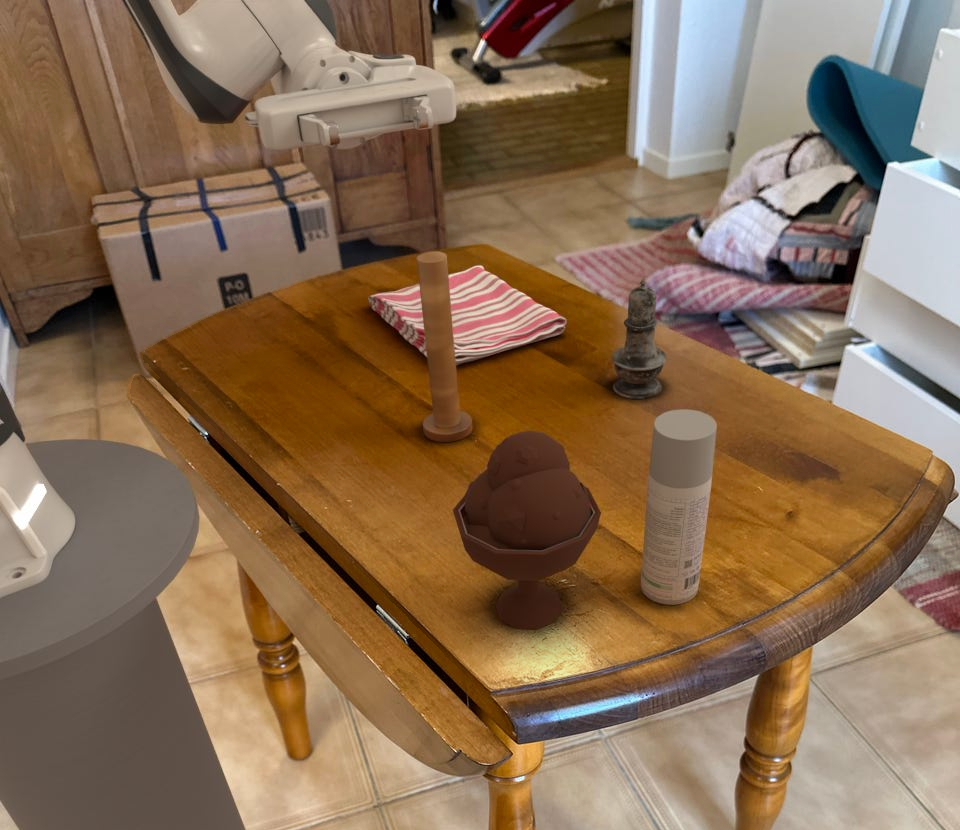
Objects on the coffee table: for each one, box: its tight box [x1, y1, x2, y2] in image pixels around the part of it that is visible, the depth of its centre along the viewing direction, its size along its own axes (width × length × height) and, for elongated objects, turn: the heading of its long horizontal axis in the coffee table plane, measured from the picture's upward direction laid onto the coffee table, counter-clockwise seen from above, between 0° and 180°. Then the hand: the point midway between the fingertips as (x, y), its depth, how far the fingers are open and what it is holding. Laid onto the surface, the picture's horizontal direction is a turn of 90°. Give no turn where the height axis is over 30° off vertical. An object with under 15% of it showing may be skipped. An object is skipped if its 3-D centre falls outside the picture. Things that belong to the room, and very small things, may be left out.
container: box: [640, 408, 718, 606], centre depth 71 cm, size 5×5×15 cm
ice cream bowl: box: [452, 430, 602, 630], centre depth 71 cm, size 11×11×15 cm
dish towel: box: [368, 264, 567, 367], centre depth 117 cm, size 17×23×4 cm
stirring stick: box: [416, 251, 474, 443], centre depth 92 cm, size 5×5×18 cm
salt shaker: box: [611, 278, 668, 400], centre depth 98 cm, size 6×6×12 cm
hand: (379, 127), depth 88 cm, fingers open, 8 cm apart
